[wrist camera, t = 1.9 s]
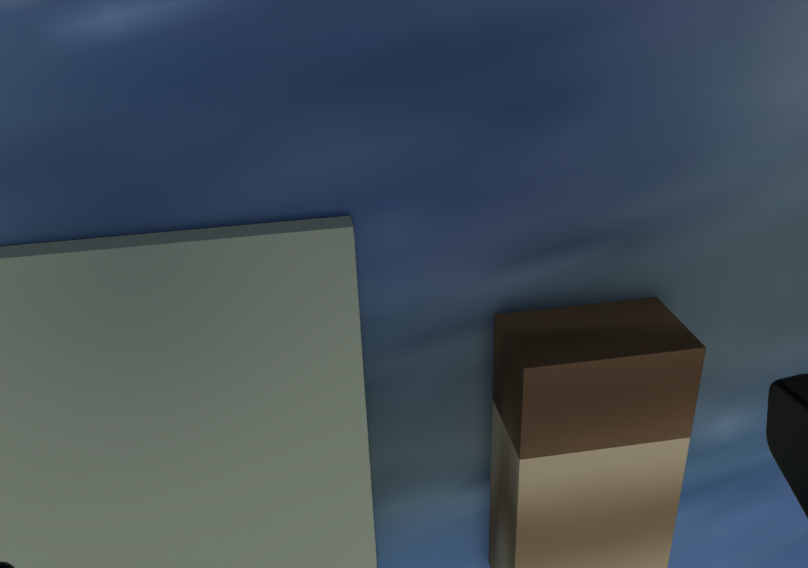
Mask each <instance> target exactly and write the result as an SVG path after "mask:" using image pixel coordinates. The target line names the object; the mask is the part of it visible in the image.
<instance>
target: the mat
mask: <svg viewBox="0 0 808 568" xmlns="http://www.w3.org/2000/svg"><path fill="white" fill-rule="evenodd" d="M0 562H8V563H10V564H11V565H13V566H14V568H377V560H376V545H375V531H374V516H373V502H372V487H371V473H370V459H369V444H368V430H367V415H366V401H365V386H364V372H363V358H362V343H361V329H360V314H359V300H358V285H357V271H356V257H355V242H354V228H353V223H352V219H351V216H339V217H328V218H317V219H305V220H294V221H283V222H271V223H260V224H249V225H237V226H226V227H215V228H203V229H192V230H181V231H169V232H158V233H147V234H135V235H124V236H113V237H101V238H90V239H79V240H67V241H56V242H45V243H33V244H22V245H11V246H0Z"/></svg>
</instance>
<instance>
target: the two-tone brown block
mask: <svg viewBox="0 0 808 568" xmlns="http://www.w3.org/2000/svg"><path fill="white" fill-rule="evenodd" d="M705 351H706V347H705V346H704V345H703V344H702V343H701V342H700V341H699V340H698V339H697V338H696V337H695V336H694V335H693V334H692V333H691V332H690V331H689V330H688V329H687V328H686V327H685V326H684V325H683V324H682V323H681V322H680V321H679V320H678V319H677V318H676V317H675V315H674V314H673V313H672V312H671V311H670V310H669V309H668V308H667V307H666V306H665V305H664V304H663V303H662V302H661V301H660V300H659V299H658V298H657V297H654V298H644V299H635V300H626V301H616V302H607V303H598V304H588V305H579V306H570V307H560V308H551V309H541V310H532V311H523V312H513V313H504V314H495V319H494V360H493V401H492V442H491V482H490V523H489V565H490V568H667V567H668V561H669V555H670V550H671V544H672V538H673V533H674V527H675V521H676V515H677V510H678V504H679V498H680V493H681V487H682V481H683V476H684V470H685V464H686V459H687V453H688V447H689V442H690V436H691V430H692V424H693V419H694V413H695V407H696V402H697V396H698V390H699V385H700V379H701V373H702V368H703V362H704V356H705Z"/></svg>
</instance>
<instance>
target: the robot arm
mask: <svg viewBox="0 0 808 568" xmlns="http://www.w3.org/2000/svg"><path fill="white" fill-rule="evenodd" d="M766 437H767V442H768V446H769V449H770V451H771V453H772V455H773V457H774V459H775V461H776V462H777V464H778V466H779V468H780V470H781V471H782V473H783V475H784V477H785V479H786V480H787V482H788V484H789V486H790V487H791V489H792V491H793V493H794V495H795V496H796V498H797V500H798V502H799V504H800V505H801V507H802V509H803V511H804V512H805V514H806V516H807V518H808V374H799V375H795V376H791V377H787V378H782V379H778V380H776V381H774V382H773V383H772V384H771V386H770V389H769V397H768V412H767V427H766ZM0 568H14V566H13V565H11V564H10V563H8V562H0Z"/></svg>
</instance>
